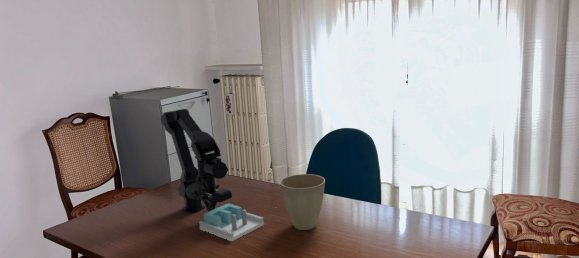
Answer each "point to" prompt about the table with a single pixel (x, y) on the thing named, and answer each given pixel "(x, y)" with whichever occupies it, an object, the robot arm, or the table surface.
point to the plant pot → (303, 199)
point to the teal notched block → (222, 215)
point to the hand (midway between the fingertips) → (210, 214)
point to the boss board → (239, 228)
